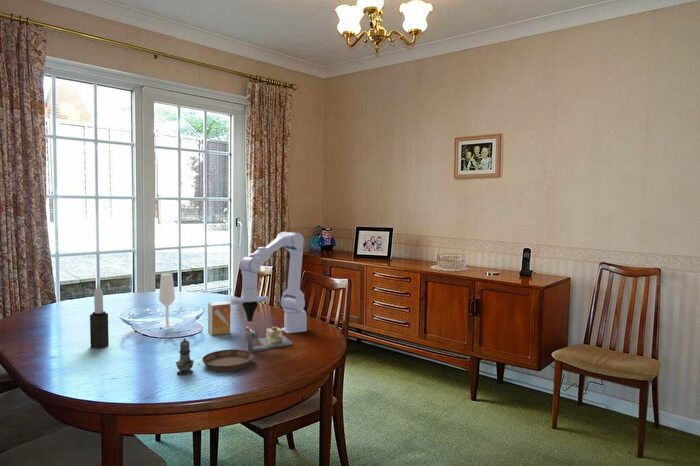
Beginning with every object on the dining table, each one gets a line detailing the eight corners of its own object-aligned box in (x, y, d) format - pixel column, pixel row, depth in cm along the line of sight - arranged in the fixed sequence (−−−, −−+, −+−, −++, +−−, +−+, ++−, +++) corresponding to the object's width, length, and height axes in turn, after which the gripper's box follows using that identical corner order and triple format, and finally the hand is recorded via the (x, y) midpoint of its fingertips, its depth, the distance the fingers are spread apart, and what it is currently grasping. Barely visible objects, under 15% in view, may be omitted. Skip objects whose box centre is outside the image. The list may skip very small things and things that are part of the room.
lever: (249, 331, 195) (249, 324, 195) (258, 339, 185) (258, 332, 185) (245, 332, 194) (245, 325, 194) (253, 339, 184) (253, 332, 184)
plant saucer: (199, 359, 175) (199, 351, 175) (248, 354, 182) (248, 346, 182) (205, 377, 159) (205, 368, 159) (258, 370, 166) (258, 361, 166)
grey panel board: (283, 338, 203) (283, 321, 202) (293, 346, 193) (293, 328, 192) (239, 343, 194) (239, 326, 193) (248, 352, 184) (248, 334, 183)
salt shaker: (178, 369, 165) (178, 335, 164) (196, 369, 165) (195, 335, 164) (173, 376, 159) (173, 340, 158) (191, 375, 159) (191, 340, 158)
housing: (278, 337, 199) (278, 324, 198) (282, 341, 194) (282, 328, 194) (266, 339, 196) (266, 326, 196) (270, 342, 192) (270, 329, 192)
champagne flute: (155, 328, 213) (155, 274, 211) (166, 324, 219) (166, 272, 217) (167, 330, 210) (167, 276, 208) (178, 326, 217) (178, 273, 215)
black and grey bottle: (110, 345, 189) (108, 282, 187) (99, 349, 184) (98, 284, 182) (99, 343, 190) (98, 281, 188) (89, 347, 186) (87, 283, 183)
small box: (212, 335, 204) (212, 305, 203) (207, 332, 209) (207, 302, 208) (230, 333, 208) (230, 303, 207) (225, 329, 214) (225, 300, 213)
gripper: (264, 284, 198) (264, 316, 199) (229, 286, 191) (228, 320, 192) (269, 287, 192) (269, 320, 193) (233, 289, 185) (233, 324, 186)
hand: (249, 320), depth 192 cm, fingers closed
